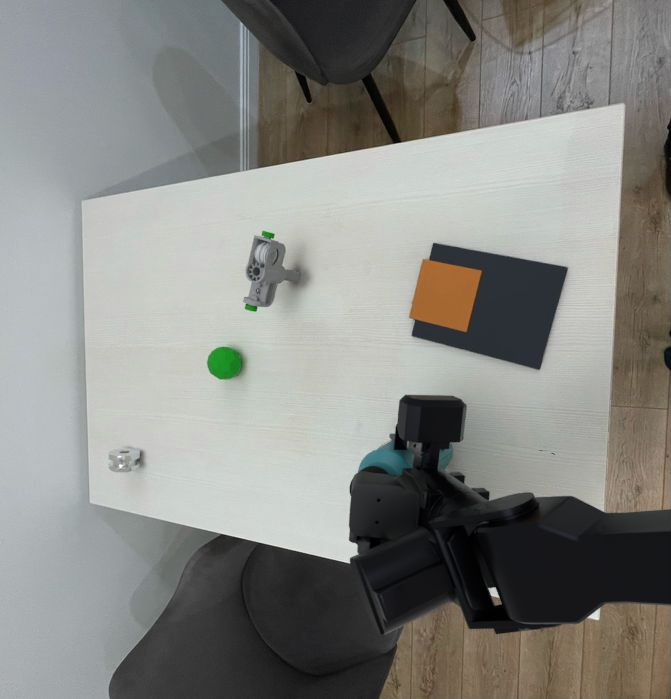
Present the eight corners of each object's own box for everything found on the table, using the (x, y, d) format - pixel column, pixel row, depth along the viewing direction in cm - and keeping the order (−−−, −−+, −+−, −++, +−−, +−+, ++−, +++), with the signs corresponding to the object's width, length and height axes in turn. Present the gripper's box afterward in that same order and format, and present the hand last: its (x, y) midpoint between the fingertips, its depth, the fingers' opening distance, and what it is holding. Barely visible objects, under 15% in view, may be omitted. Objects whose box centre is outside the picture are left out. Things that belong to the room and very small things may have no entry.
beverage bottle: (467, 441, 66) (412, 486, 49) (440, 483, 68) (377, 541, 50) (423, 410, 69) (355, 443, 51) (398, 452, 71) (325, 497, 53)
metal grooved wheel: (146, 451, 93) (123, 457, 88) (146, 467, 93) (122, 475, 89) (125, 446, 95) (102, 452, 91) (125, 462, 95) (101, 470, 91)
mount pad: (568, 267, 61) (567, 267, 60) (539, 369, 63) (538, 369, 62) (428, 242, 68) (426, 241, 67) (406, 334, 70) (405, 334, 69)
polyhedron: (217, 368, 85) (196, 371, 80) (227, 340, 83) (206, 341, 79) (240, 383, 83) (220, 387, 78) (251, 354, 82) (231, 357, 77)
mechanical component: (279, 307, 79) (236, 306, 70) (296, 238, 77) (254, 228, 68) (295, 313, 78) (254, 313, 69) (313, 243, 76) (273, 233, 67)
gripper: (384, 415, 41) (327, 379, 56) (363, 641, 43) (314, 549, 58) (508, 416, 45) (423, 381, 60) (484, 626, 47) (408, 542, 62)
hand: (390, 464), depth 60 cm, fingers closed on beverage bottle, 6 cm apart
